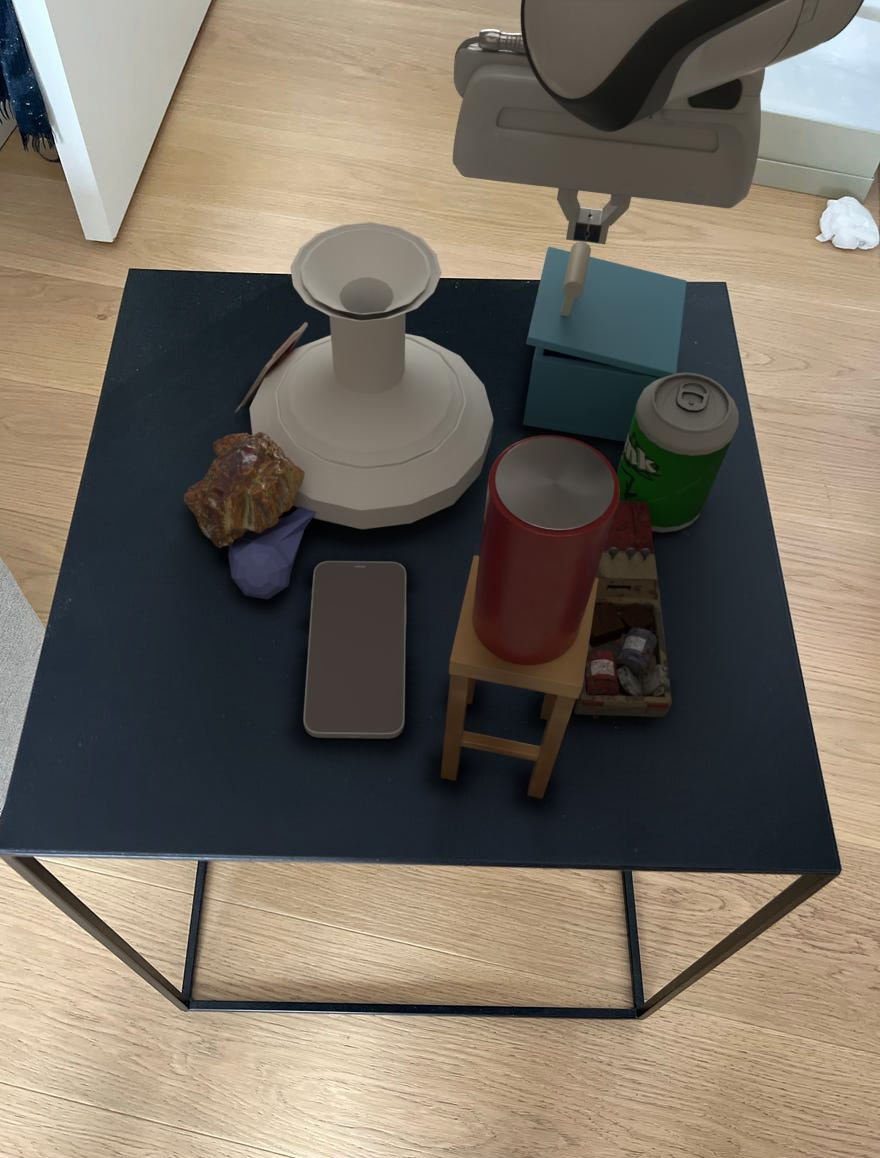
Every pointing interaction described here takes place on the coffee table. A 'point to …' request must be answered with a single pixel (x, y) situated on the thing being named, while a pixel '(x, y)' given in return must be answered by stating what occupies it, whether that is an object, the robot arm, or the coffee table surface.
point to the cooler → (582, 395)
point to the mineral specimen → (244, 488)
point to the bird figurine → (268, 555)
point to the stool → (552, 678)
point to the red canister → (541, 546)
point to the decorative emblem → (273, 363)
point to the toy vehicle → (627, 625)
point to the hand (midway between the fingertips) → (586, 237)
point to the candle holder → (373, 387)
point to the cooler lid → (608, 312)
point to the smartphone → (356, 651)
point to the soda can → (676, 447)
